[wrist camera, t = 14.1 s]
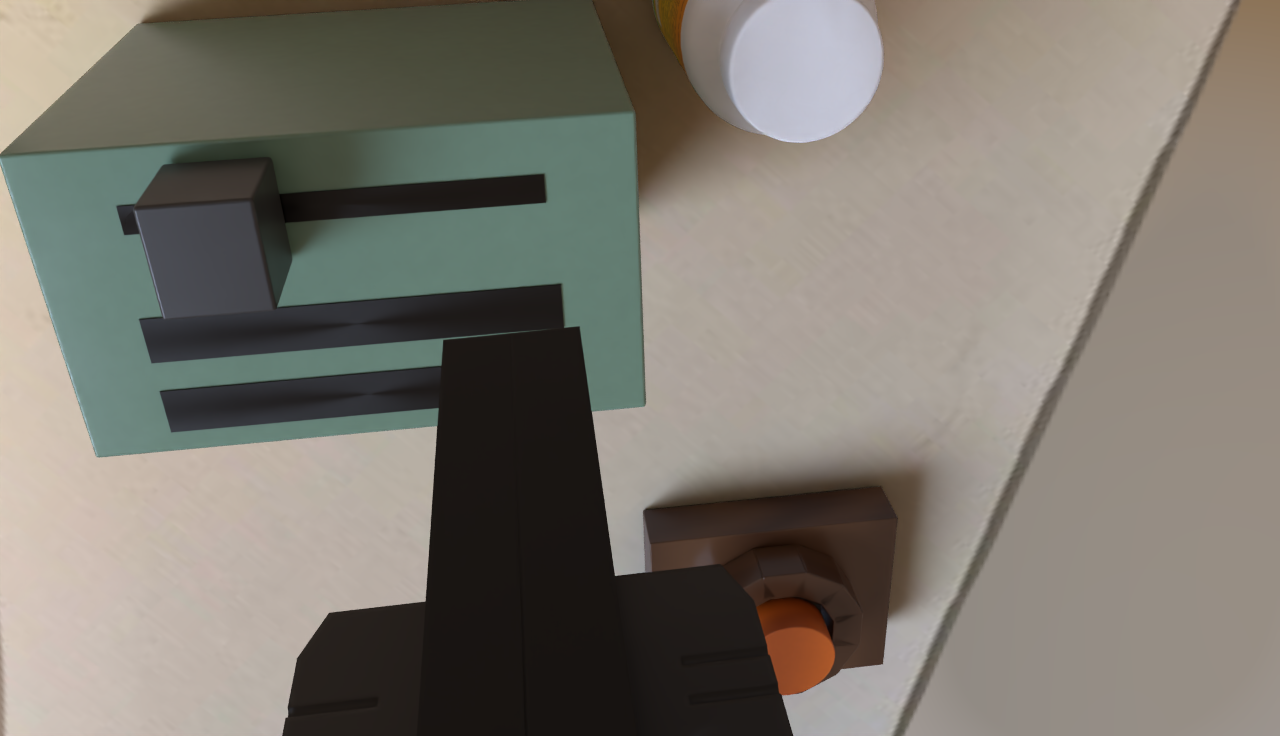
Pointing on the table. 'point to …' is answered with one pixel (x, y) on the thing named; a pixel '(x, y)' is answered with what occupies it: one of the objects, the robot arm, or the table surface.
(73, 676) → the table surface
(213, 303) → the slider
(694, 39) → the supplement bottle
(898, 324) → the table surface
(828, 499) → the button block
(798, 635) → the button
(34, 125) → the toaster
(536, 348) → the robot arm
